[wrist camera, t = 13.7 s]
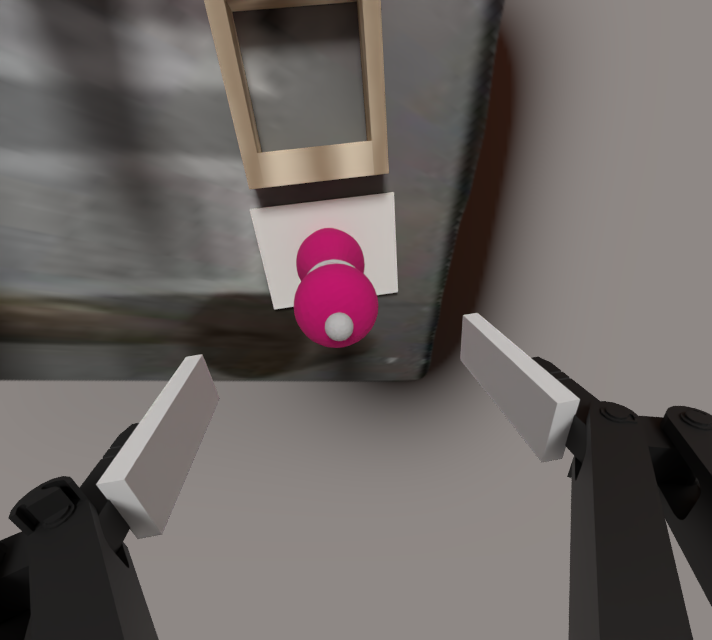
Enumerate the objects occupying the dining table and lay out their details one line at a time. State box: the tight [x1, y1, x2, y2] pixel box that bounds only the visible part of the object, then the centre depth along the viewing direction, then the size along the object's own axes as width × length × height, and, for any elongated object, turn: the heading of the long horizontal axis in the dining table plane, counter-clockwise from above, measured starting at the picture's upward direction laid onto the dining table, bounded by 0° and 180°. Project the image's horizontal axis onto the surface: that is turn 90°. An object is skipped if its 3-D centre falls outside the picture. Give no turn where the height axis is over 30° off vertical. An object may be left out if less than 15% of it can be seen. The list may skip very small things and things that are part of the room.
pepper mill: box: [294, 228, 378, 348], centre depth 27 cm, size 7×7×20 cm
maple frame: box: [204, 0, 389, 189], centre depth 27 cm, size 14×17×3 cm
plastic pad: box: [250, 192, 398, 309], centre depth 36 cm, size 16×12×1 cm
